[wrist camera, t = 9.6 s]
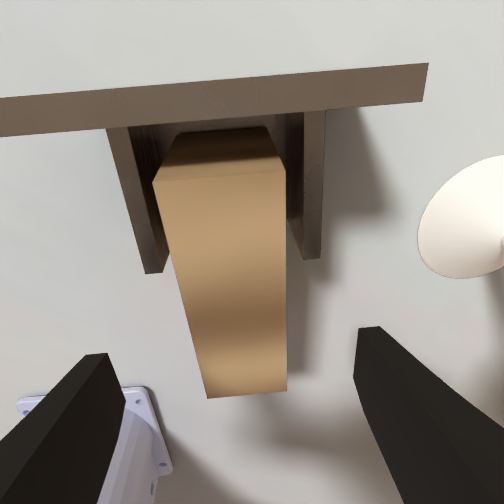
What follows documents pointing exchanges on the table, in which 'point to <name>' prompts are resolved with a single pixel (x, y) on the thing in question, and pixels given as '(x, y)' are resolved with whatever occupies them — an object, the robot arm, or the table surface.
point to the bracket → (212, 120)
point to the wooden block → (229, 255)
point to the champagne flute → (466, 222)
